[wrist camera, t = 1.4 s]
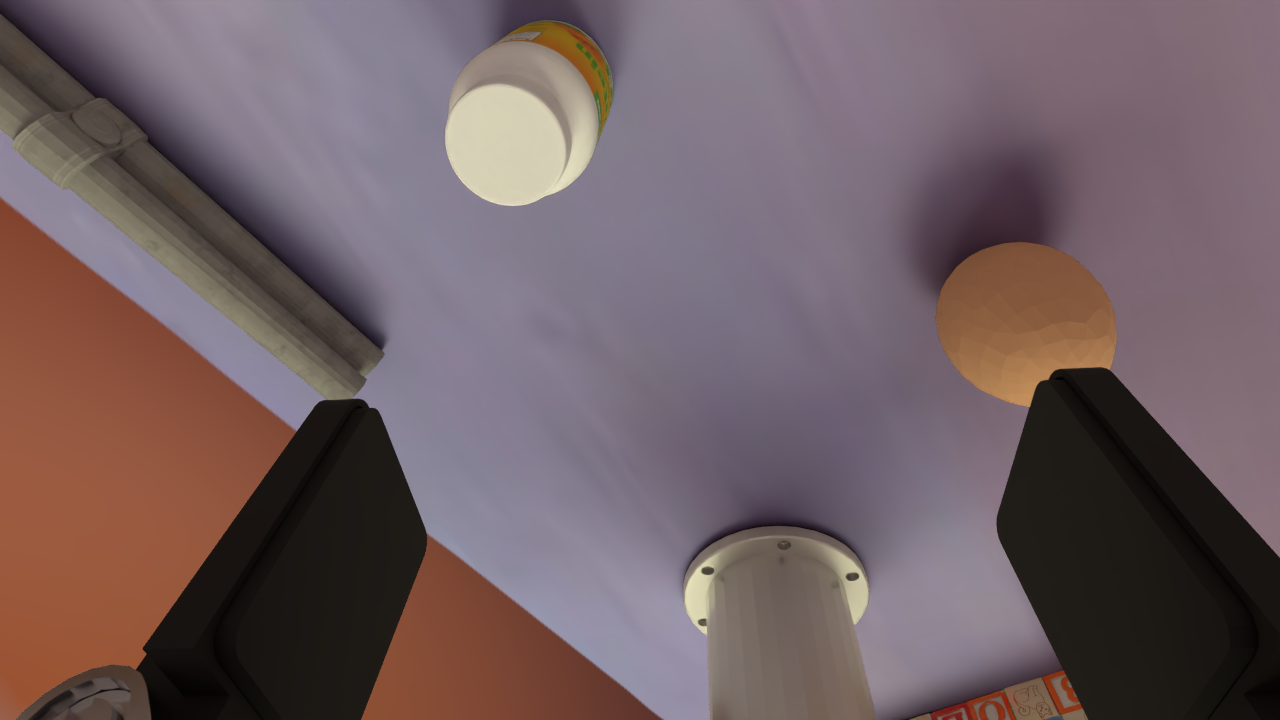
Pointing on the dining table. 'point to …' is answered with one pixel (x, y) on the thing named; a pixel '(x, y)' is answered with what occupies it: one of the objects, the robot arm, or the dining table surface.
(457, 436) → the dining table surface
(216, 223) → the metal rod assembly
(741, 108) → the dining table surface
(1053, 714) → the stack of blocks
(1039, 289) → the egg
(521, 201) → the supplement bottle
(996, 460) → the dining table surface
